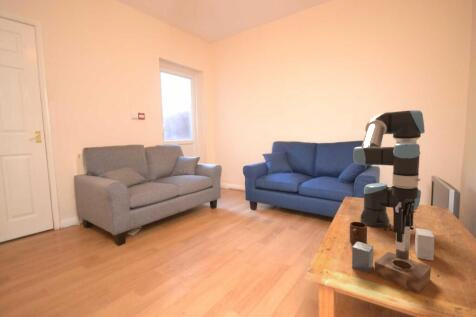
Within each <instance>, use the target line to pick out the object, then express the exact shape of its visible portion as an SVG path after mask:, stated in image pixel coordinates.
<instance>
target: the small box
mask: <svg viewBox="0 0 476 317" xmlns="http://www.w3.org/2000/svg"><path fill="white" fill-rule="evenodd" d="M414 251H415V252H414V253H415V255H416V258H418V259H420V260H426V261H434V260H435V259H434V258H435V236H434V233H433V232H432V230H431V229H425V228H419V227H417V228H415V236H414Z"/></svg>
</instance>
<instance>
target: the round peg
mask: <svg viewBox="0 0 476 317" xmlns="http://www.w3.org/2000/svg"><path fill="white" fill-rule="evenodd" d="M404 233H405V251H401V250H398V249H395V254H396V257H398V258H400V259H403V260H407V259H410V247H409V239H410V240H411V229H410V226H408V225H405V230H404Z"/></svg>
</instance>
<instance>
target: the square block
mask: <svg viewBox="0 0 476 317" xmlns="http://www.w3.org/2000/svg"><path fill="white" fill-rule="evenodd" d="M351 249H352V252H351V254H352V255H351V265H352V266H351V268H352V269H354V270H357V271H360V272H363V273H365V274H368V275H369V273H370V272H371V271H372V269H373V266H374V245H371V244H368V243H367V244H364V243H361V242H356V243H355V245H354V244H353V246H351Z"/></svg>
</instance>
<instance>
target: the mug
mask: <svg viewBox="0 0 476 317" xmlns="http://www.w3.org/2000/svg"><path fill="white" fill-rule="evenodd" d="M349 242H350V243H351V244H352V245H353V246H354V245H355V243H356V242H361V243H364V244H368V225H366V224H364V223H362V222H361V221H352V222H350V223H349Z"/></svg>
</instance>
